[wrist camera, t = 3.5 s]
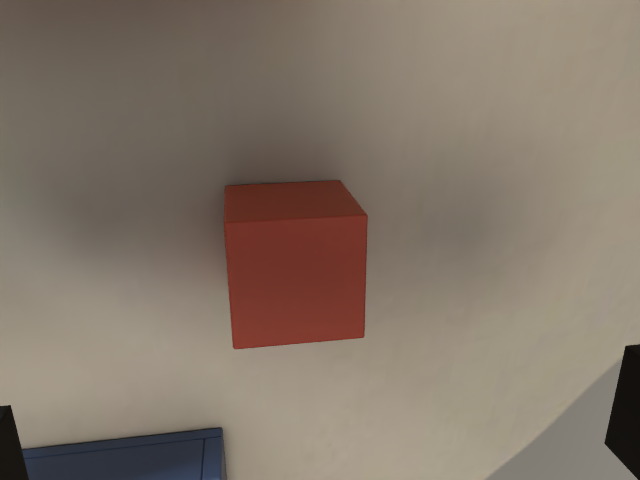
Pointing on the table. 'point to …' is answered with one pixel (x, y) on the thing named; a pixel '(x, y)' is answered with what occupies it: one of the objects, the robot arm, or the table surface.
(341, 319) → the red block
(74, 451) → the blue tray
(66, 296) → the table surface
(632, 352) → the robot arm
